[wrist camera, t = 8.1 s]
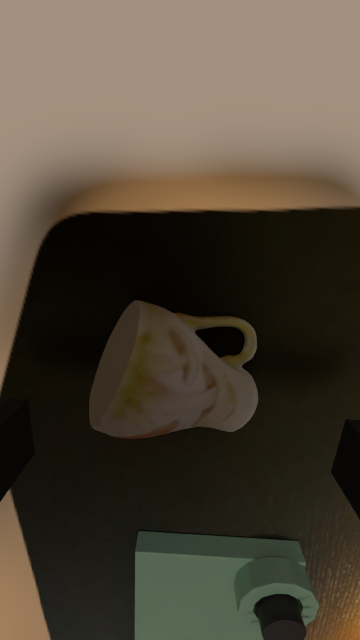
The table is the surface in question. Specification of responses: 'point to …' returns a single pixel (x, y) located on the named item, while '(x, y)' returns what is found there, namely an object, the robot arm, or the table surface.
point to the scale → (213, 585)
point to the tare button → (280, 618)
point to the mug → (170, 376)
